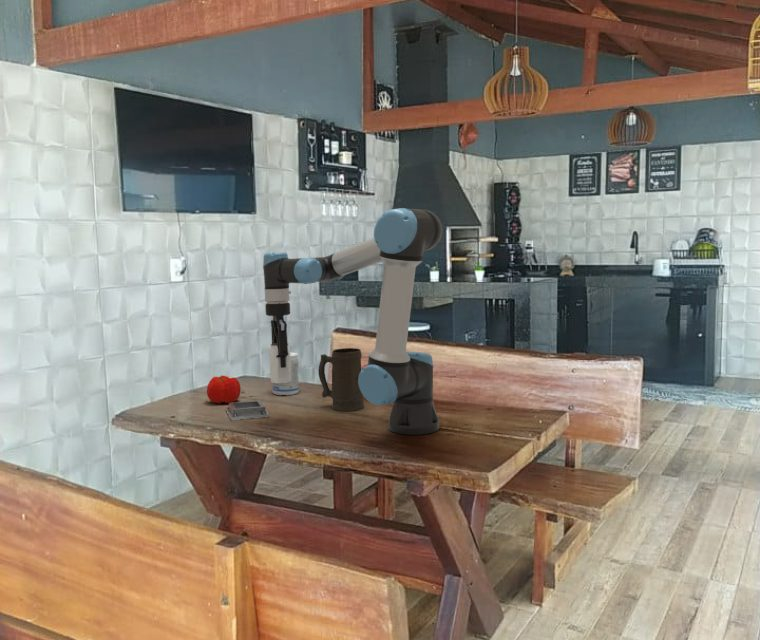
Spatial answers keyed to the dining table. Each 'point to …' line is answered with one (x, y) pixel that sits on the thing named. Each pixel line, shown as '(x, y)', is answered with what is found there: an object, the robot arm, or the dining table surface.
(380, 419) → the dining table surface
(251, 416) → the grey flat rectangular tray
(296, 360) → the supplement tub
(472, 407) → the dining table surface
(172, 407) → the dining table surface
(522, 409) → the dining table surface
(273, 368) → the can
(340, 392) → the beer stein
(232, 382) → the tomato
